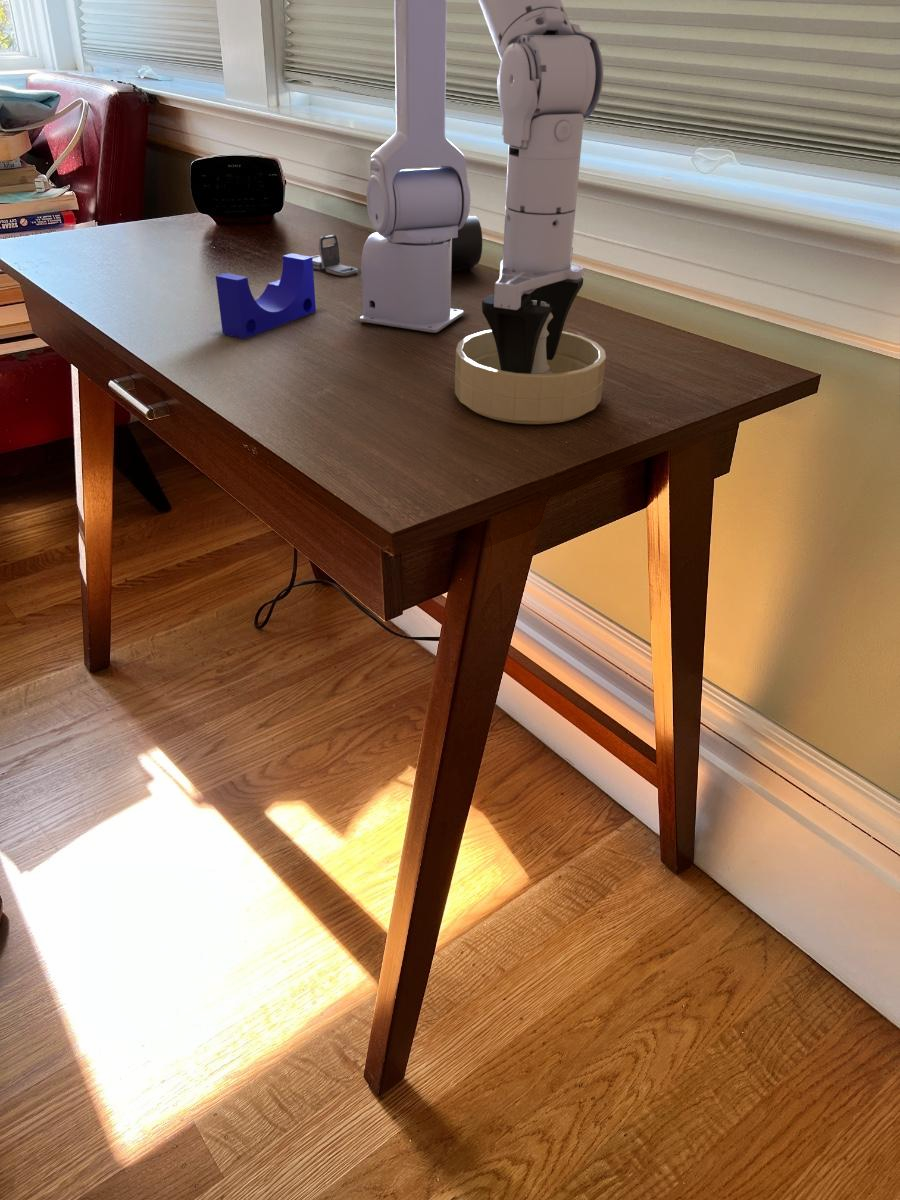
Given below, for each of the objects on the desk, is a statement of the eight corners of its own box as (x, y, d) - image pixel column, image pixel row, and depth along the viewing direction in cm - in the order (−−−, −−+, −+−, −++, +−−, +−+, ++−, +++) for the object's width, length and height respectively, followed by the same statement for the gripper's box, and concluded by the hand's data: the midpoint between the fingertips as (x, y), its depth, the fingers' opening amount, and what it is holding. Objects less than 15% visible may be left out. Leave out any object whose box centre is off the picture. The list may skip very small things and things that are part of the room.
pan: (431, 411, 80) (432, 361, 77) (486, 365, 90) (488, 319, 87) (575, 437, 76) (580, 386, 73) (616, 386, 86) (622, 339, 83)
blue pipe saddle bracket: (285, 305, 106) (281, 251, 102) (315, 311, 104) (312, 257, 101) (212, 331, 97) (204, 273, 94) (243, 338, 95) (237, 280, 92)
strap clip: (300, 265, 121) (297, 232, 119) (317, 261, 123) (315, 228, 121) (343, 277, 117) (341, 242, 114) (360, 273, 118) (359, 238, 116)
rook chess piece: (550, 404, 80) (558, 313, 76) (500, 399, 81) (505, 309, 77) (555, 386, 84) (563, 299, 79) (508, 382, 85) (513, 295, 80)
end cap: (407, 279, 116) (407, 223, 112) (395, 265, 122) (394, 212, 118) (482, 275, 119) (484, 220, 115) (466, 262, 124) (467, 209, 120)
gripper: (560, 230, 67) (545, 404, 74) (611, 197, 78) (594, 352, 86) (471, 220, 69) (466, 390, 77) (534, 190, 80) (524, 341, 88)
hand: (529, 369), depth 81 cm, fingers open, 7 cm apart
